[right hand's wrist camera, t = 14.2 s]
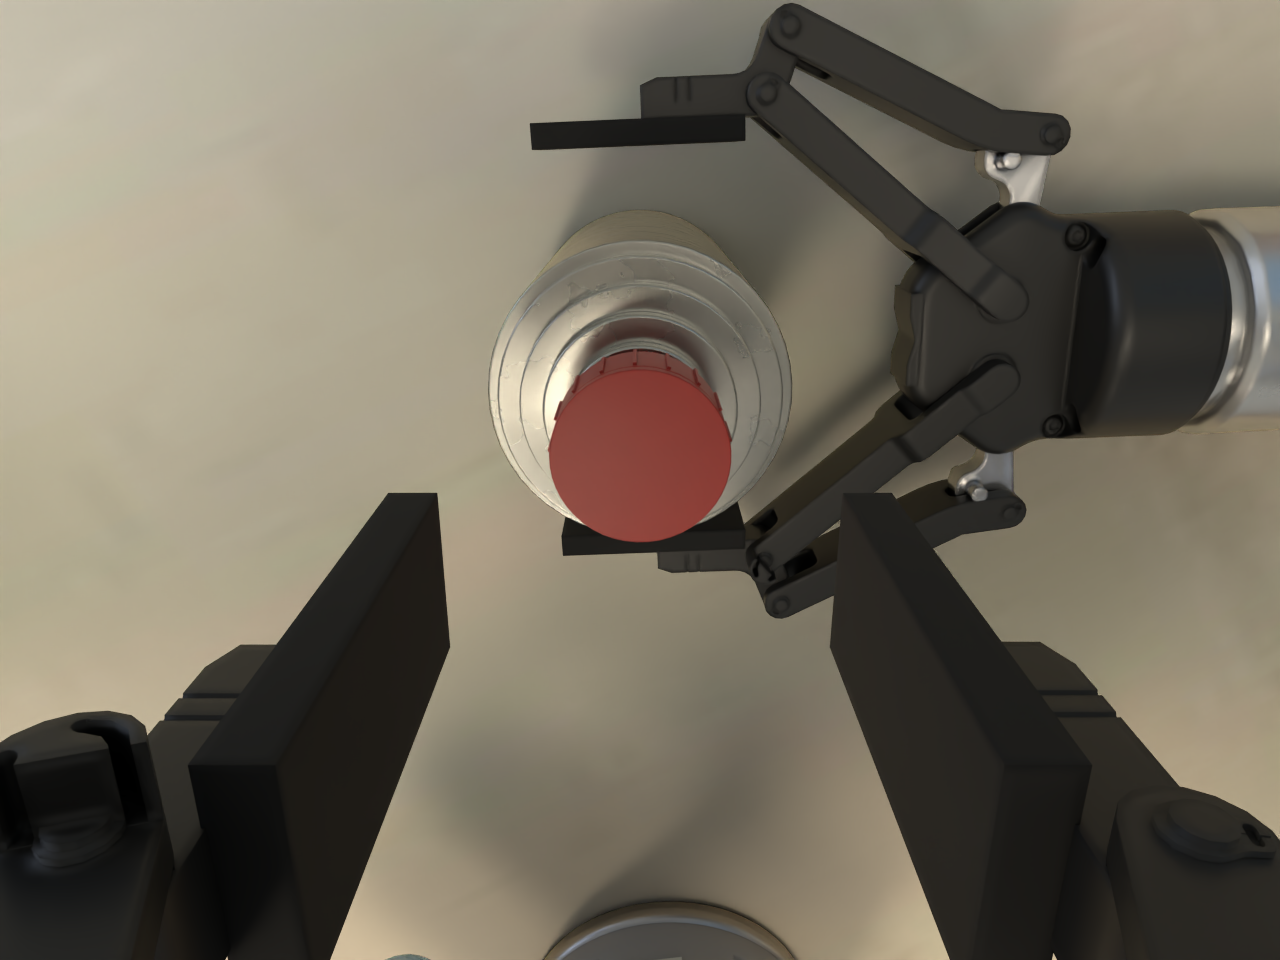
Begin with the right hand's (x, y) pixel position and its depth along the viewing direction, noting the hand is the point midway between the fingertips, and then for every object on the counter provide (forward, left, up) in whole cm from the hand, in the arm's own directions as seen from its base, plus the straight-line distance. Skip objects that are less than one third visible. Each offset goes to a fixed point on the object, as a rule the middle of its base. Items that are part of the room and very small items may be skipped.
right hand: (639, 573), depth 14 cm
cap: (0, 0, -6) cm, 6 cm away
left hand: (-2, +3, -18) cm, 18 cm away
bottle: (0, 0, -24) cm, 24 cm away
